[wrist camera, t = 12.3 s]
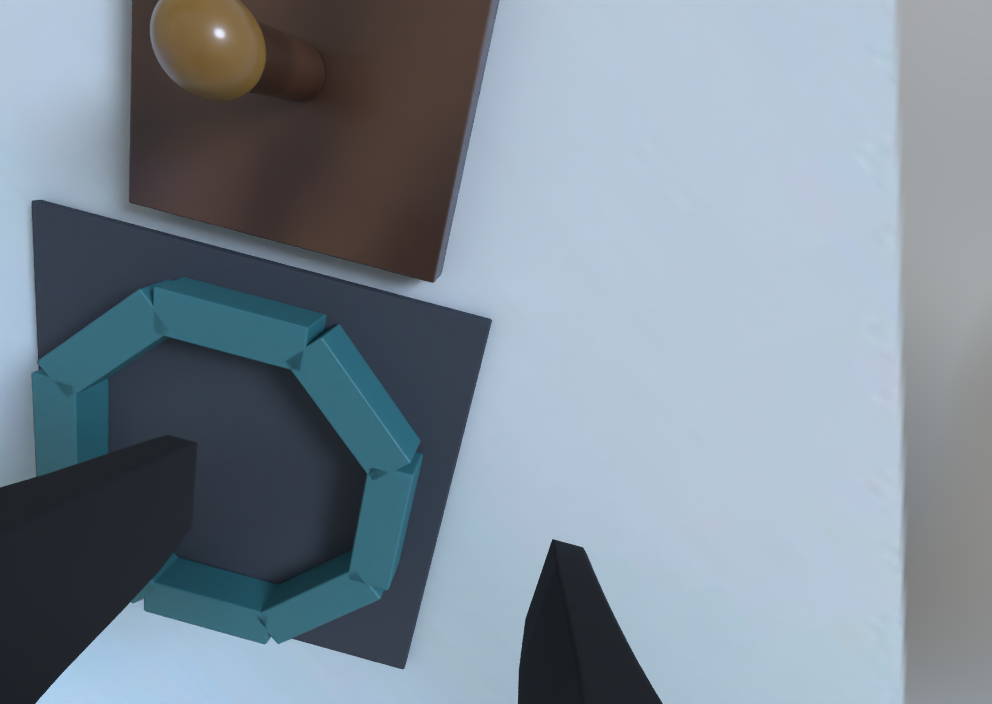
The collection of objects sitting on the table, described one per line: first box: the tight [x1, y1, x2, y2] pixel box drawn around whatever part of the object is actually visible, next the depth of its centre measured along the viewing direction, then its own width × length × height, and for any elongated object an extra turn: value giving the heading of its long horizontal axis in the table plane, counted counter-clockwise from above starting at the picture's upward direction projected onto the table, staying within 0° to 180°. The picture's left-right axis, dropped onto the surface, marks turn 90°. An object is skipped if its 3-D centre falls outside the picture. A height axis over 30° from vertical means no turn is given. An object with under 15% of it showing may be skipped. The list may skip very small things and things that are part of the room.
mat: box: [32, 200, 492, 669], centre depth 22 cm, size 16×16×1 cm
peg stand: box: [129, 0, 499, 283], centre depth 14 cm, size 10×10×7 cm
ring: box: [32, 277, 423, 644], centre depth 21 cm, size 14×14×2 cm
